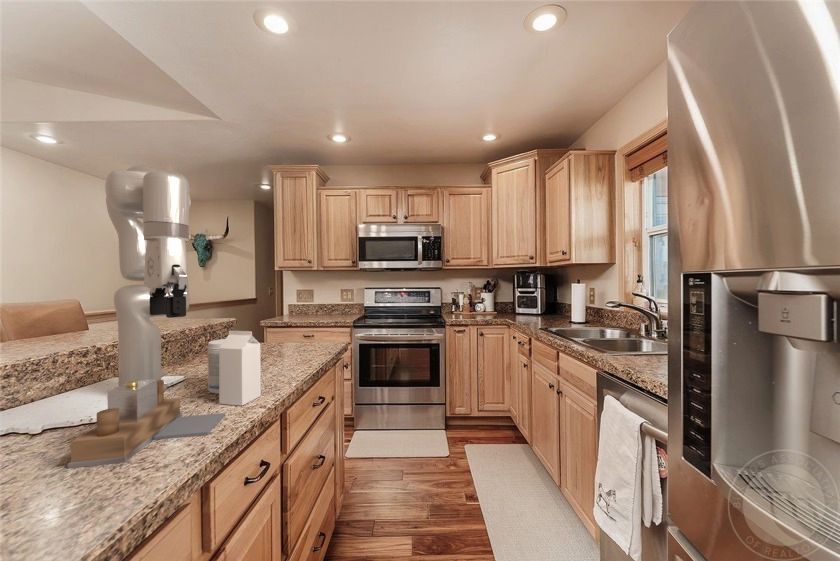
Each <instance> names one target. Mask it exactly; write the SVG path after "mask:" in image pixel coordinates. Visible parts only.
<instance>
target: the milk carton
mask: <svg viewBox="0 0 840 561" xmlns="http://www.w3.org/2000/svg"><path fill="white" fill-rule="evenodd" d="M224 339H225V340H224V342H223V343H222V344H221V346H220V347H219V394H218V395H219V396H218V397H219V398H218V399H219V404H220V405H228V406H229V405H231V406H244V405H246V404H249V403H251V402H252V401H254V400H256V399H258V398H260V397H261V396H262V394H261V393H262V392H261V391H262V390H261V388H262V386H261V384H262V381H261V380H262V378H261V375H262V374H261V343H260V342H259V341H258V340H257V339H256V338H255V337H254V336H253V332H252V331H249V330H229V331H228V335H227V337H226V338H224Z"/></svg>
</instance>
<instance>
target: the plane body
mask: <svg viewBox="0 0 840 561" xmlns="http://www.w3.org/2000/svg"><path fill="white" fill-rule="evenodd" d="M164 382H165V380H164V379H161V380H157V409H156V410H155V411H153V412H152V413H150V414H149V415H147V416H146V417H144V418H143V419H141V420H140V421H138V422H134V423H123V424H119V409H118V408H111V409H108V408H106V409H104V410H100V411H98V412H96V427H94V428H92V429H91V430H89V431H87V432H86V433H83V434H82V435H80V436H78V437H77V438H75V439H73V440H71V442H70V462H68V463H67V469H76V468H83V467H93V466H103V465H112V464H121V463H126V462H127V461H129V460H130V459H132V457H133V456H135V455H136V454H137V453H138V452H140V451H141V450H142V449H143V448H145V447H146V446H147V445H148V444H149V443H151V442H152V441H153V437H154V436H155V435H157V434H158V433H159V432H160V431H162V430H163V429H164V428H165V427H166V426H168V425H169V424H170V423H171V422H173V421H174V420H175V419H176V418H178V417H183V412H182V411H181V398H180V397H173V398H172V397H171V398H169V397H168V398H164V397H165V396H164V395H165V394H164V393H165V390H164Z"/></svg>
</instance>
